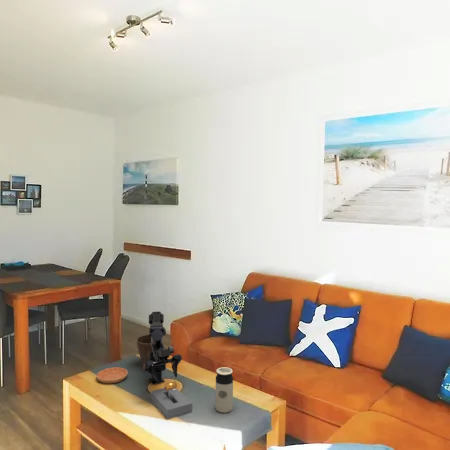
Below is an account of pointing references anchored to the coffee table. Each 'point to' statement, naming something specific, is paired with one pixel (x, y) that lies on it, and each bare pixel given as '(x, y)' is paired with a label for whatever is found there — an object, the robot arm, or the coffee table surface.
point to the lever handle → (170, 389)
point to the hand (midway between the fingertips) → (167, 379)
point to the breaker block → (170, 403)
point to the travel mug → (224, 390)
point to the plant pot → (144, 347)
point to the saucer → (112, 375)
